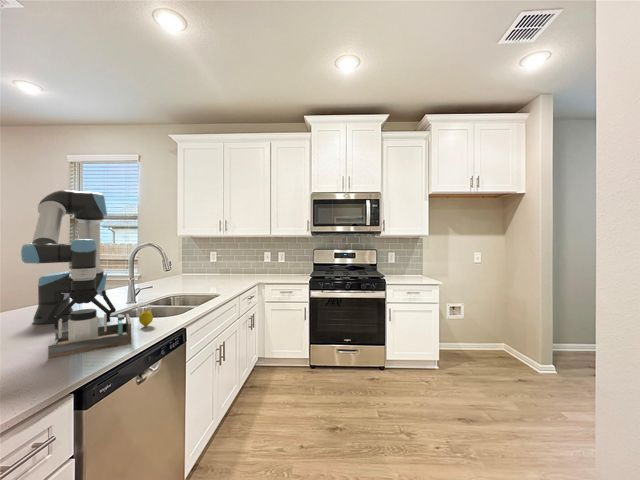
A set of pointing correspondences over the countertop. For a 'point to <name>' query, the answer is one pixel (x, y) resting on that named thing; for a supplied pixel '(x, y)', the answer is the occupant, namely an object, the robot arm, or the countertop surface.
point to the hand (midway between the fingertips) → (83, 333)
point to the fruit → (146, 318)
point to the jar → (83, 325)
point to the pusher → (120, 323)
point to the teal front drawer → (92, 340)
